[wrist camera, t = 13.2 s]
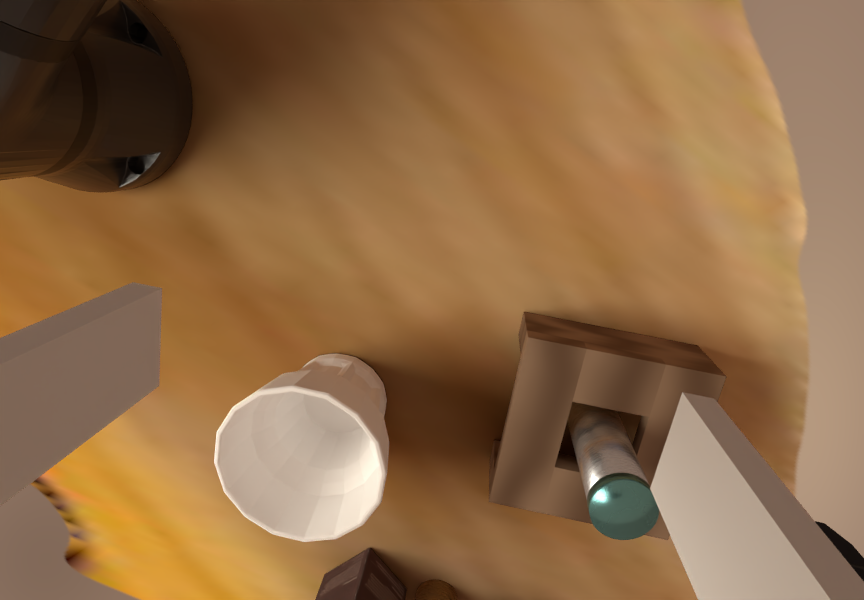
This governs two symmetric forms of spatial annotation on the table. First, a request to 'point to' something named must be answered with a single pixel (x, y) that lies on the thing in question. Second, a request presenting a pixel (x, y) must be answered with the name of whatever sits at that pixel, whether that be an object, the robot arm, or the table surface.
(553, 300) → the table surface
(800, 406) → the table surface
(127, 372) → the robot arm
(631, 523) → the long pin
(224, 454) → the cup
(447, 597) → the medium pin
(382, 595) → the box
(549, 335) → the bracket
